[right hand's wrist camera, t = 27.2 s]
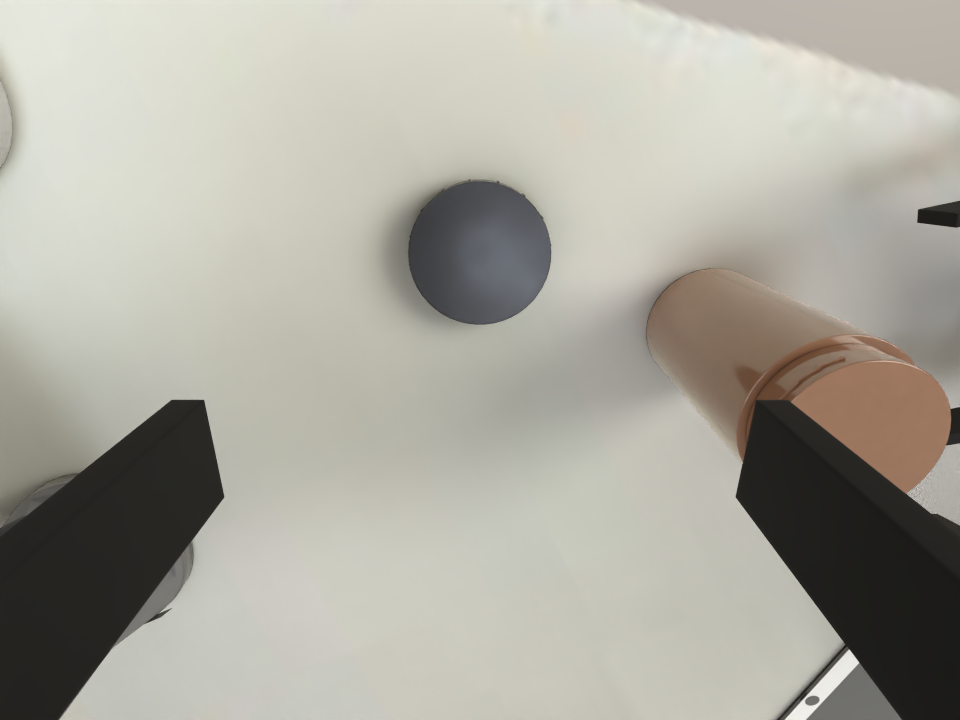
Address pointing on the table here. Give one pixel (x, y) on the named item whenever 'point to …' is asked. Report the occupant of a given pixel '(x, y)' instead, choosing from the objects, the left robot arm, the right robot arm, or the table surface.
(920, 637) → the right robot arm
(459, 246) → the lid
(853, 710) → the tablet
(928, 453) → the jar
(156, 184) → the table surface
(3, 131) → the flag stand
